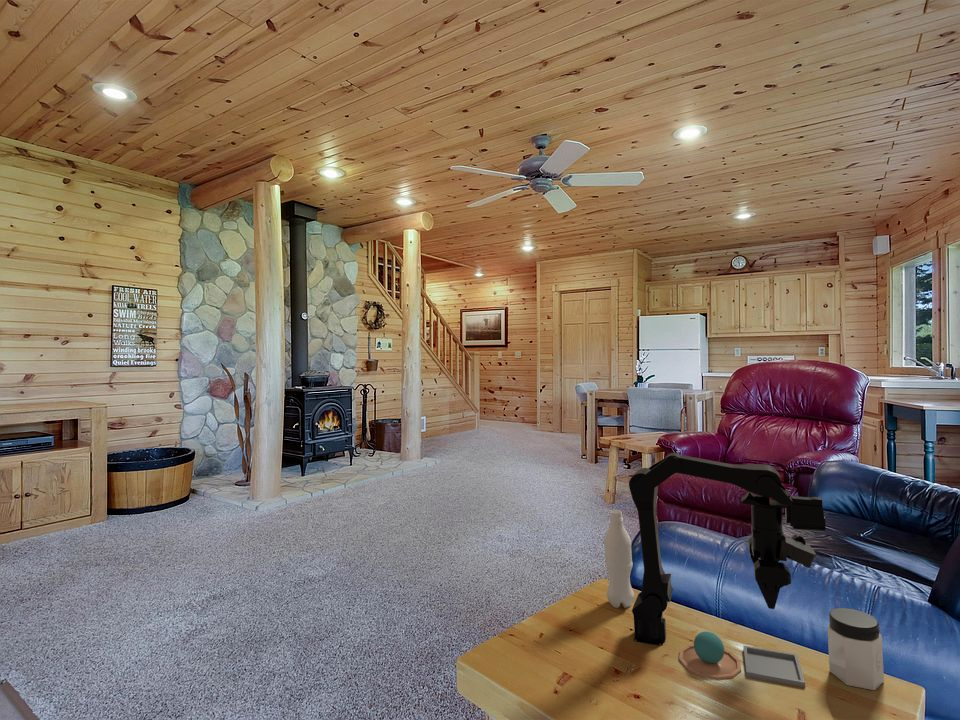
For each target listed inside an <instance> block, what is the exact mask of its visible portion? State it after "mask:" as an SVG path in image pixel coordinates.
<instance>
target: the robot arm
mask: <svg viewBox="0 0 960 720" xmlns="http://www.w3.org/2000/svg"><path fill="white" fill-rule="evenodd" d="M675 474H681V475H686V476H692V477H696V478H701V479H705V480H711V481H715V482H721V483H725V484H731V485H733V486H736V487H738V488H741V489H742V490H744V491H747V493H746V494H745V495H743V496H742V497H741V503H742V505H749V506H750V505H751V507H750V508H751V510H750V511H751V525H750V528H751V529H750V531H751V537H750V538H749V539H747V542H748V545H747V547H748V552H749V556H750V559H751V561H752V564H753V574H754V579H755V582H756V584H757V585H758V586H757V587H758V588H759V590H760V592H761V595H762V596H763V599H764V602H765V603H766V606H767V608H768V609H769V610H775V608H776V605H777V600H778V597H779V593H780V591H781V589H782V588H783V587H787V586H790V584H792V578H791V577H792V575H791V572H790V569H789V567H788V566H787V565H786V564H785V563H784V562H787V559H789V560H791V561H794V562H795V563H798V564H799V565H802V566H803V567H806V568H808V569H809V568H811V567H812V564H813V562H814V560H815V558H816V555H817V553H816V552H815V550H814V548H813V547H812V546H811V545H810V544H807V543H806V538H805V537H804V536H803V535H800V534H798V533H796V534H794V535H792V537H789V536H788V537H786V535H785V534H784V530H783V509H784V515H785V523H786V524H789V526H790V527H791V528H792V529H793V530H801V531H810V532H818V533H819V532H820V533H825V532H826V527H827V526H826V523H827V522H826V517H825V513H824V512H825V511H824V505H823V499H822V498H821V497H819V496H810V497H808V496H796V495H791V492H790V491H789V489H787V488H786V487H785V486H784V484H783V482H782V478H781V476H780V473H779V471H778V470H777V469H776V468H775V467H774V466H772V465H769V464H765V463H764V464H763V463H762V464H760V463H759V464H758V463H745V464H732V463H727V462H720V461H715V460H710V459H706V458H705V459H704V458H699V457H694V456H689V455H683V454H680V453H677V452H671V453H669V454H668V455H667V456H666V457H664V458H662V459H660V460H659V461H658V462H655V463H654V464H652V465H651V466H649V467H641V468H639V469H637V470H636V471H635V473H634V474H633V475H632V476H631V477H630V479H629V482H628V488H629V490H630V491H629V492H630V495H631V499H632V501H633V503H634V507H636V510H637V515H638V517H637V518H638V525H639V533H640V543H641V553H642V554H641V556H642V563H643V575H642V576H643V577H642V583H641V591H640V592H639V593H638V594H637V597H636V599H635V601H634V604H633V607H632V609H631V612H632V614H633V626H634V628H633V633H634V636H633V641H634V642H637V643H643V644H648V645H654V646H659V647H662V646H664V642H666V640H667V623H666V618H664V615H663V613H664V612H665V610H667V607H668V603H671V600H672V595H673V593H674V587H673V585H672V573H665V570H664V568H663V565H662V556H661V547H660V546H661V545H660V538H659V537H660V536H659V529H658V528H659V527H658V518H657V510H656V509H657V508H656V507H657V500H658V493H659V485H661V484H662V483H664V482H665V481H666V480H668V479H669V478H670V477H672V476H673V475H675ZM770 498H771V499H770ZM779 561H781V562H779Z"/></svg>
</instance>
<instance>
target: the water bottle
mask: <svg viewBox="0 0 960 720" xmlns="http://www.w3.org/2000/svg"><path fill="white" fill-rule="evenodd" d="M609 513H610V515H609V516H610V517H609V523H610V524H609V527H608V528H607V531H606V533H605V535H604V539H603V545H604V557H605V558H604V559H605V560H604V564H605V566H606V569H607V571H608V577H609V578H608V586H607V588H606V597H607V600H608V602H609V603H610V604H611V605H612V607H613V608H616V609H620V606H621V604H622V606H623V608H624V609H627V608H629V607H631V606H632V604H633V602H634V598H635V592H634V590H633V587H632V584H631V577H630V576H631V572H632V570H633V567H634V566H633V559H632V558H633V556H632V554H633V553H632V540H631V537H630V535H629V533H628V531H627V529H626V527H625V526H624V518H623V511H621V510H619V509H612V510H610V512H609Z"/></svg>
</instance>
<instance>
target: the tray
mask: <svg viewBox="0 0 960 720" xmlns="http://www.w3.org/2000/svg"><path fill="white" fill-rule="evenodd" d="M743 655H744V665H745V673H746V677H747V678H754V679H757V680H764V681H767V682H774V683H779V684H783V685H790V686H795V687H800V688H801V687H802V688H806V680H805V677H804V674H803V670H802V666H801V663H800V660H799V656H798V653H792V652H788V651H780V650H773V649H767V648H761V647H755V646H749V645H743Z"/></svg>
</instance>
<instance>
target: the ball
mask: <svg viewBox="0 0 960 720" xmlns="http://www.w3.org/2000/svg"><path fill="white" fill-rule="evenodd" d="M693 640H694V641H693V644H694V649H695V652H696V654H697V655H698V657H699V658H700V659H701V660H703V661H704V662H707V663H711V664H713V663H717V662H719V661H720V660H721V659H722V658H723V656H724V649H725V647H724V646H725V645H724V643H723V641H722V640H721V638H720V637H719V636H718V635H717V634H715V633H714V632H711V631H708V630H707V631H701V632H699V633H697V635H696V636H695V637H694V639H693Z"/></svg>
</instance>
